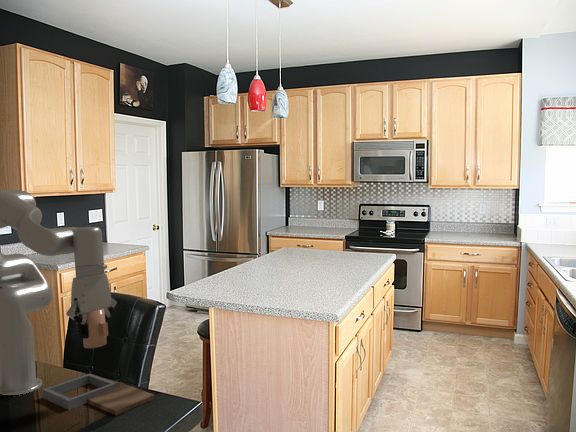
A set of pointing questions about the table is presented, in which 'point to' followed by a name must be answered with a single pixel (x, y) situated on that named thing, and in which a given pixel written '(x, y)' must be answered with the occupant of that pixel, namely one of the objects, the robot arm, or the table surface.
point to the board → (120, 399)
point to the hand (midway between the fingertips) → (94, 334)
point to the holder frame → (55, 391)
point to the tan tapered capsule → (96, 329)
